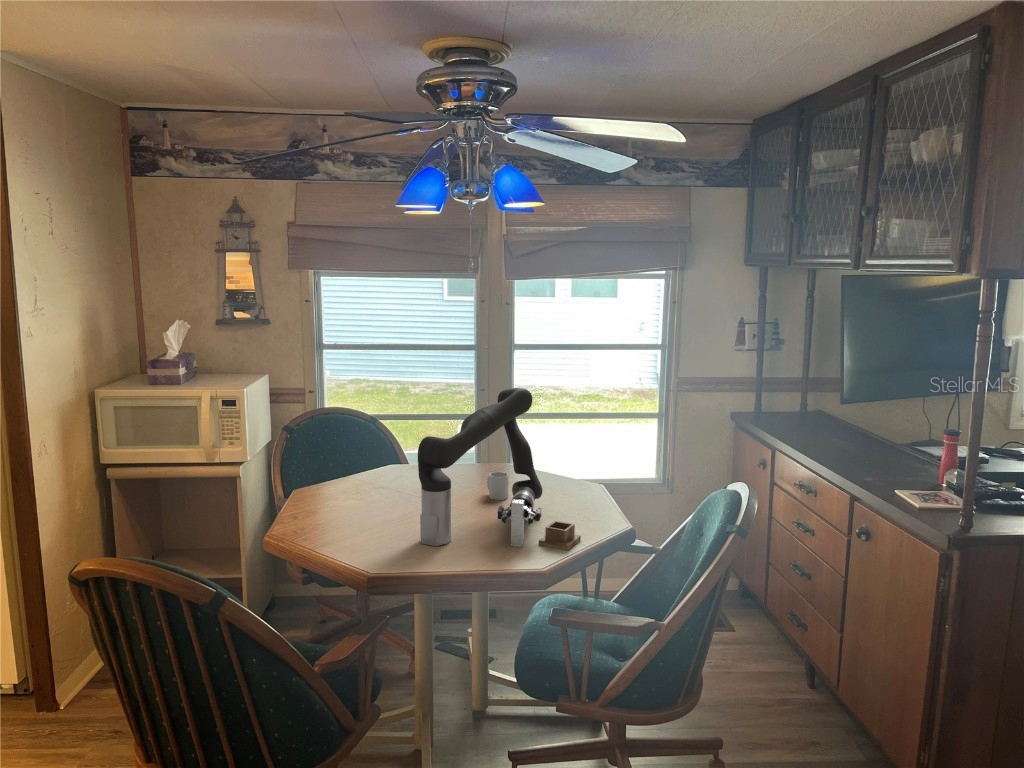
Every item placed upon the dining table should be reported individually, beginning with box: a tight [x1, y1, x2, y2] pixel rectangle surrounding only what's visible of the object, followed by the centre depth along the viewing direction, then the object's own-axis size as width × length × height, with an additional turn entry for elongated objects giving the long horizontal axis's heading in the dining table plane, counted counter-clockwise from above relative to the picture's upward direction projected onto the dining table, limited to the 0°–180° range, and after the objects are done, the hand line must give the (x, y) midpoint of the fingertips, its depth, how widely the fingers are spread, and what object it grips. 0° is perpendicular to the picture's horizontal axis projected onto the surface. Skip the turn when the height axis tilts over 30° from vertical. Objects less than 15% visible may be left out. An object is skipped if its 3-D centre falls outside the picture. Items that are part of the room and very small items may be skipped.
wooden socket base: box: [538, 520, 582, 551], centre depth 236 cm, size 10×10×6 cm
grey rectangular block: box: [510, 499, 525, 548], centre depth 233 cm, size 4×4×14 cm
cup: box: [486, 471, 510, 501], centre depth 282 cm, size 7×10×9 cm
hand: (516, 521), depth 230 cm, fingers open, 7 cm apart
